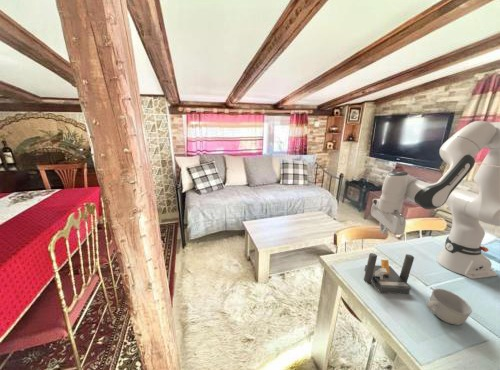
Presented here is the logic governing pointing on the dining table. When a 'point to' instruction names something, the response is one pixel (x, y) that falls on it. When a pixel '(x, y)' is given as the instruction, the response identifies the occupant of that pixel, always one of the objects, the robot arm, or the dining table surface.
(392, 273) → the black flat block
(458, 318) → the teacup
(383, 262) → the paddle centre
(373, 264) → the post
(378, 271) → the paddle right
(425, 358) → the dining table surface
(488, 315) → the dining table surface
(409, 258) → the post
